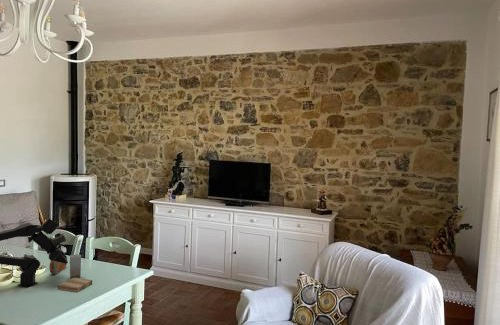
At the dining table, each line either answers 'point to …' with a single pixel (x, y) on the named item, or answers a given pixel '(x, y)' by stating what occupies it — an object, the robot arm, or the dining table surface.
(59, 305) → the dining table surface
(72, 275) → the brushed metal box
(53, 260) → the robot arm
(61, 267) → the tin
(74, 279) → the plate
